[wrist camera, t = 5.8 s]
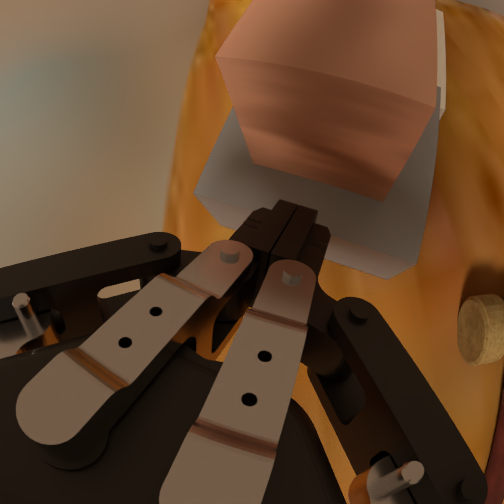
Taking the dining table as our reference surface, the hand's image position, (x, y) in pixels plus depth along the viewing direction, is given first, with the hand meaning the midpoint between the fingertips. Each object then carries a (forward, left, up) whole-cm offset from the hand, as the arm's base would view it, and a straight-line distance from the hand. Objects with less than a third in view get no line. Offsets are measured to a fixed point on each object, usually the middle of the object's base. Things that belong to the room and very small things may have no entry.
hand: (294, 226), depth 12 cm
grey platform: (0, -7, -9) cm, 12 cm away
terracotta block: (0, -7, -3) cm, 8 cm away
